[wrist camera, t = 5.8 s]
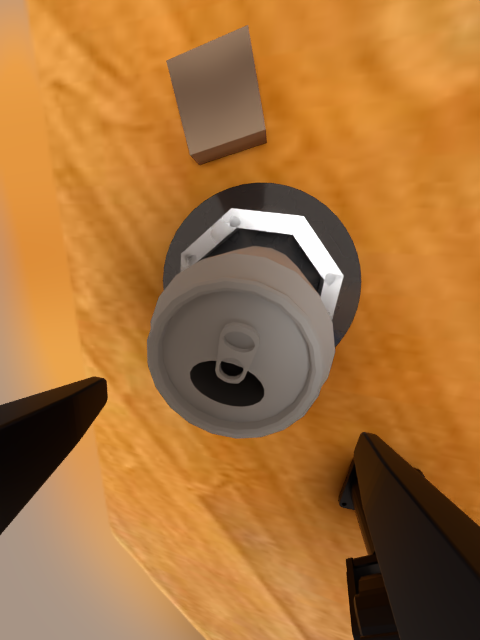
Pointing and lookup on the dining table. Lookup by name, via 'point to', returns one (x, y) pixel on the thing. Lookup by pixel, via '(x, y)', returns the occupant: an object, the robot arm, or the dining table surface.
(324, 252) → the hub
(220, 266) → the can
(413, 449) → the dining table surface
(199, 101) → the walnut block
